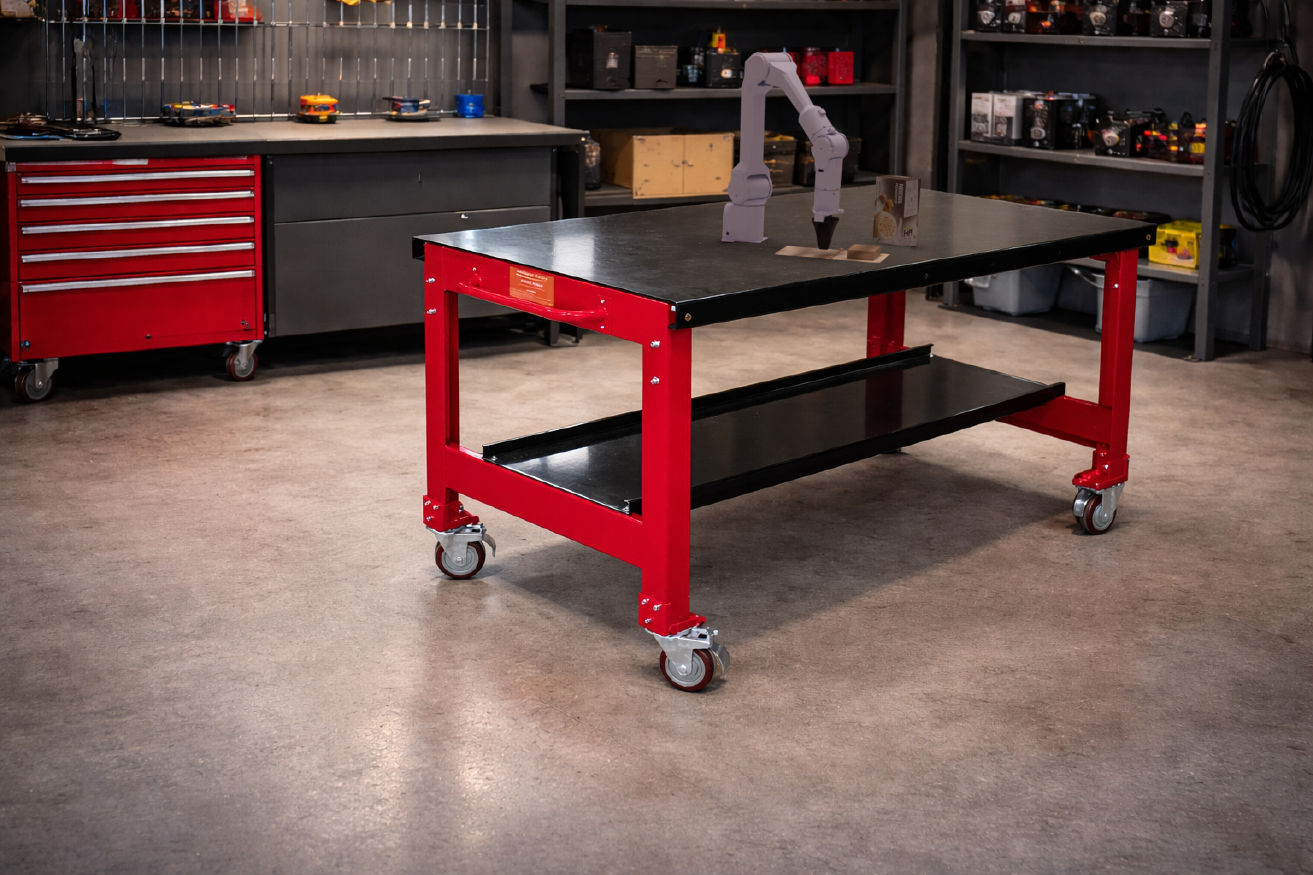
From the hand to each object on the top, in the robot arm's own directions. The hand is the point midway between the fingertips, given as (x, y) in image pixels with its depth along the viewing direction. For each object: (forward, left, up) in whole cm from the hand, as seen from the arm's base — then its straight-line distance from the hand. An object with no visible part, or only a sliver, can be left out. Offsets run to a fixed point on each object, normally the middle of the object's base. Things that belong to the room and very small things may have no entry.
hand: (823, 249), depth 309 cm
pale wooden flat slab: (+2, 0, -2) cm, 3 cm away
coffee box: (+12, +23, -2) cm, 26 cm away
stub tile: (+9, 0, -1) cm, 9 cm away
